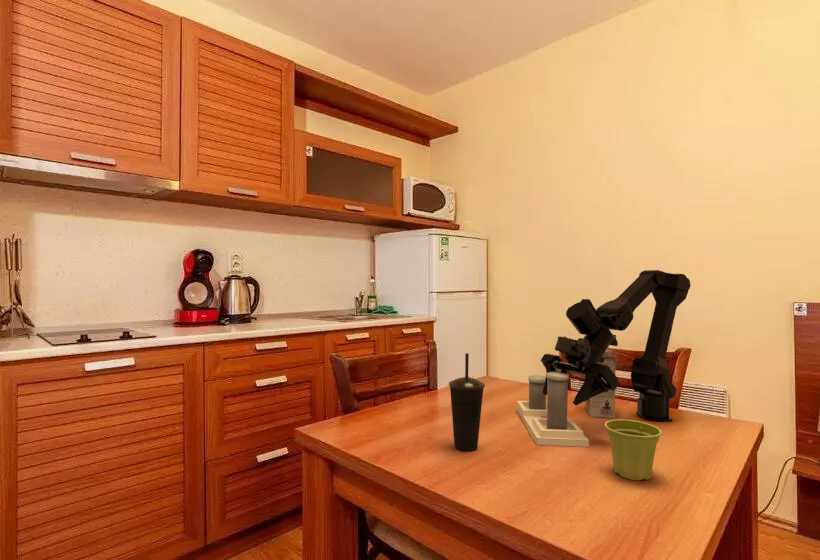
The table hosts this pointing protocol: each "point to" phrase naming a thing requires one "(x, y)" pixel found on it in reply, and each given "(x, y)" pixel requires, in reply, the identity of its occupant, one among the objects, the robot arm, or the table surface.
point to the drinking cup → (466, 410)
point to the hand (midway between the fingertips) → (558, 399)
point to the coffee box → (603, 395)
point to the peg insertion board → (536, 419)
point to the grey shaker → (557, 400)
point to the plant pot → (633, 447)
